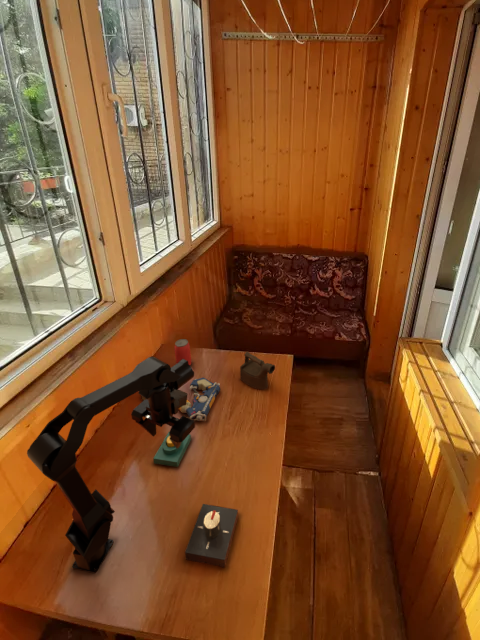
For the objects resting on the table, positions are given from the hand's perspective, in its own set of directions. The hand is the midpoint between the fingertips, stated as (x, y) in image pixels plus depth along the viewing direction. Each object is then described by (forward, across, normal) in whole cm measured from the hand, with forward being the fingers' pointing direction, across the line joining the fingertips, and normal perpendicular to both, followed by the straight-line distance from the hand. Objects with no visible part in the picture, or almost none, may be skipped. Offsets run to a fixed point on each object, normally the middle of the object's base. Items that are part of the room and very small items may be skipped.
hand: (166, 441), depth 91 cm
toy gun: (+14, +12, -26) cm, 32 cm away
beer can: (+14, +32, -41) cm, 54 cm away
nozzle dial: (+11, -22, +8) cm, 26 cm away
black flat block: (+14, -22, +8) cm, 27 cm away
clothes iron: (+14, -4, -46) cm, 48 cm away
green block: (+14, +5, -6) cm, 16 cm away
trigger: (+10, +5, -6) cm, 13 cm away
